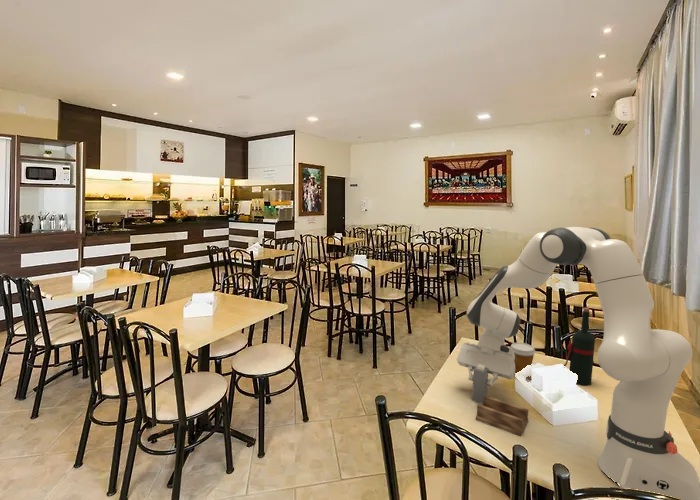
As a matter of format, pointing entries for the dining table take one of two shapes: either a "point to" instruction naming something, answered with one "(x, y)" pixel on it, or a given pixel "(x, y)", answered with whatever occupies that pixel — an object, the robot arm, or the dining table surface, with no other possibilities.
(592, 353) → the wine bottle
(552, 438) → the dining table surface
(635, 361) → the robot arm
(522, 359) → the disposable coffee cup
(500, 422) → the wooden card holder
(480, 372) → the post
